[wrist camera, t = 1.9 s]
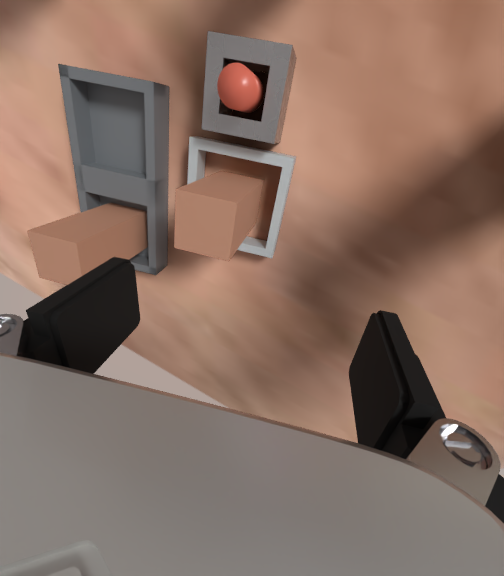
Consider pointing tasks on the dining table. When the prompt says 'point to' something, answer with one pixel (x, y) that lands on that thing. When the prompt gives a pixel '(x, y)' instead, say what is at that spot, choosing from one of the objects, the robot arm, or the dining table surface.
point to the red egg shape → (240, 88)
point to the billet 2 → (216, 214)
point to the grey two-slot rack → (121, 149)
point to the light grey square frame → (285, 161)
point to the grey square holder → (256, 58)
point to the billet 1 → (87, 241)
